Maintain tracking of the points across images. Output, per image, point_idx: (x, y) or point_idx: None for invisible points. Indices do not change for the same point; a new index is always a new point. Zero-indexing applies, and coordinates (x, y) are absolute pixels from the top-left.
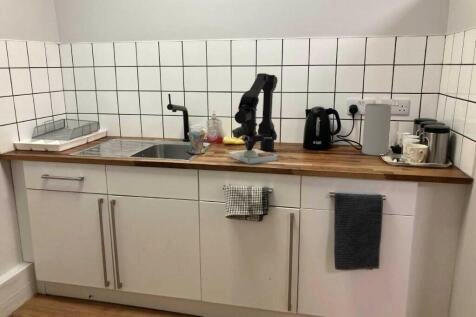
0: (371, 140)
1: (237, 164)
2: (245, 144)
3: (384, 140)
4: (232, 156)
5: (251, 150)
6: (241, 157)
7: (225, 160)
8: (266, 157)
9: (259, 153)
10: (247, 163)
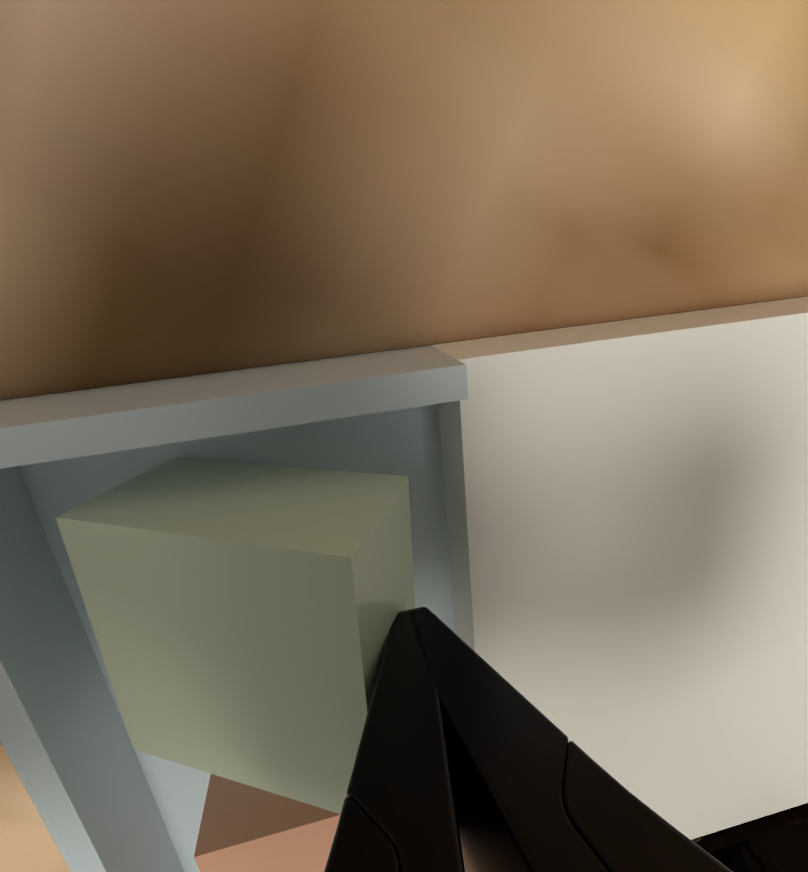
0: None
1: (15, 115)
2: (624, 826)
3: None
4: (737, 308)
5: None
6: (337, 374)
7: (567, 2)
8: (81, 862)
9: None
10: (25, 398)
